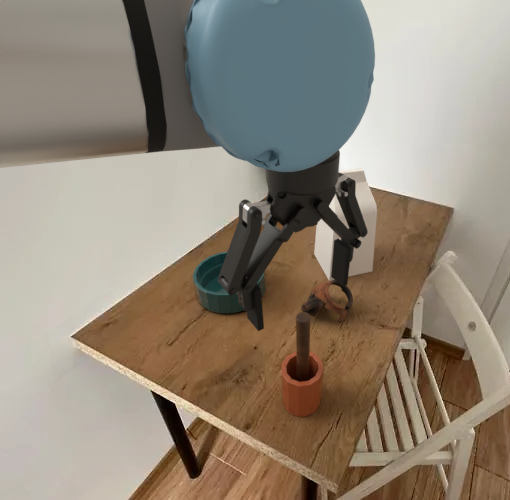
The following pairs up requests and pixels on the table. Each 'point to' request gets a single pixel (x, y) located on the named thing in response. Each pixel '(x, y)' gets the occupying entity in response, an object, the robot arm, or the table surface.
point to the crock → (302, 386)
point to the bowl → (217, 286)
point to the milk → (326, 235)
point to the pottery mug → (327, 300)
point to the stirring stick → (302, 346)
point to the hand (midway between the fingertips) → (300, 300)
